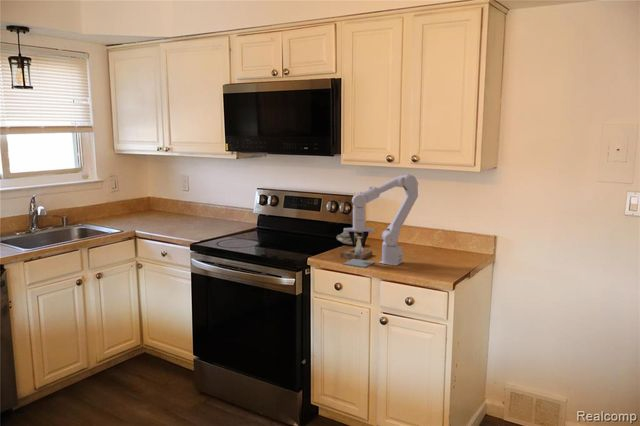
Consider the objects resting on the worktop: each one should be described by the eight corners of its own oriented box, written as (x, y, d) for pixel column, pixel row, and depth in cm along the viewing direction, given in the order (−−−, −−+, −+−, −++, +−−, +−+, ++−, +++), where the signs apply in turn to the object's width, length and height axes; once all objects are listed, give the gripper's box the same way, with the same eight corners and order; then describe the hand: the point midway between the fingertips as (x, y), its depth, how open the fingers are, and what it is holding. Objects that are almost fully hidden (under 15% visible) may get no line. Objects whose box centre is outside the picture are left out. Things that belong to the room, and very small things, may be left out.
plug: (364, 253, 247) (364, 237, 246) (360, 255, 244) (360, 238, 243) (357, 252, 249) (357, 236, 248) (353, 254, 246) (353, 237, 245)
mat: (374, 262, 248) (374, 261, 248) (365, 267, 240) (365, 266, 240) (353, 259, 254) (353, 258, 254) (342, 264, 246) (342, 263, 246)
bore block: (372, 255, 263) (372, 250, 263) (361, 260, 253) (361, 255, 253) (351, 252, 269) (351, 247, 269) (340, 257, 260) (340, 252, 259)
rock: (331, 239, 289) (337, 224, 292) (338, 248, 296) (345, 233, 299) (357, 244, 278) (364, 228, 281) (365, 252, 284) (371, 237, 288)
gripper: (373, 217, 247) (373, 245, 249) (343, 218, 248) (343, 245, 250) (374, 220, 240) (374, 248, 242) (343, 220, 241) (343, 248, 243)
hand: (358, 247), depth 246 cm, fingers closed on plug, 4 cm apart
